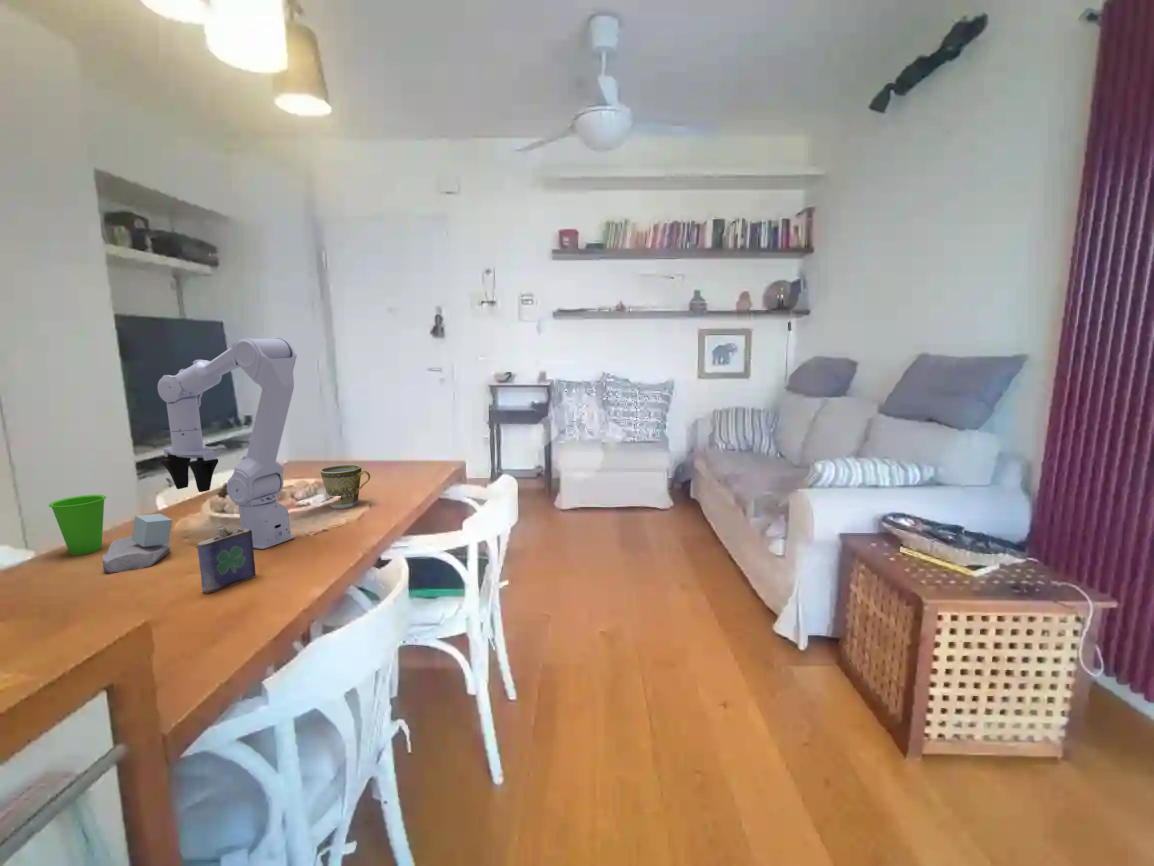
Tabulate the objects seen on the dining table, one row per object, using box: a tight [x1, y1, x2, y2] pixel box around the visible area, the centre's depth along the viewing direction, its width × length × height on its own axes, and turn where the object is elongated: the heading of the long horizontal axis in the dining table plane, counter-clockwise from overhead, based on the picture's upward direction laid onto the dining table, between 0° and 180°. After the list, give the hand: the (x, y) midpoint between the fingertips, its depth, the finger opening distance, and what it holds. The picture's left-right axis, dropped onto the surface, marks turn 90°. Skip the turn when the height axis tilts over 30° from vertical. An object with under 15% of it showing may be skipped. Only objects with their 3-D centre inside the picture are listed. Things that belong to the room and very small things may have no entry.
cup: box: [48, 494, 107, 556], centre depth 120 cm, size 9×9×11 cm
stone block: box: [101, 535, 171, 574], centre depth 115 cm, size 12×5×10 cm
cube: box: [131, 513, 173, 547], centre depth 115 cm, size 4×4×5 cm
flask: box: [196, 524, 257, 595], centre depth 102 cm, size 9×3×11 cm, turn 151°
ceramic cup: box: [320, 463, 371, 510], centre depth 152 cm, size 13×10×10 cm
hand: (193, 489), depth 129 cm, fingers open, 7 cm apart
